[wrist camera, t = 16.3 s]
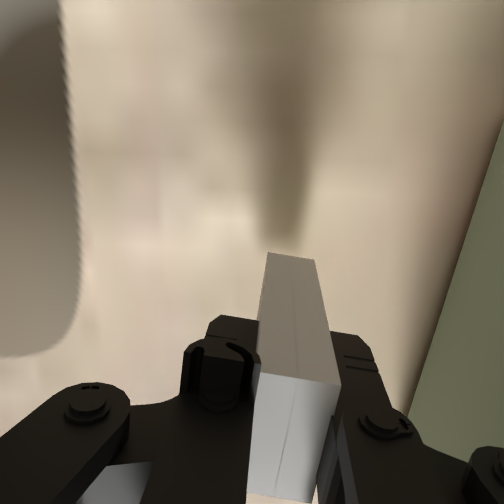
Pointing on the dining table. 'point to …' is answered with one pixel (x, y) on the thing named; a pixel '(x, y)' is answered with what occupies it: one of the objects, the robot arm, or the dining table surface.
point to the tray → (469, 337)
